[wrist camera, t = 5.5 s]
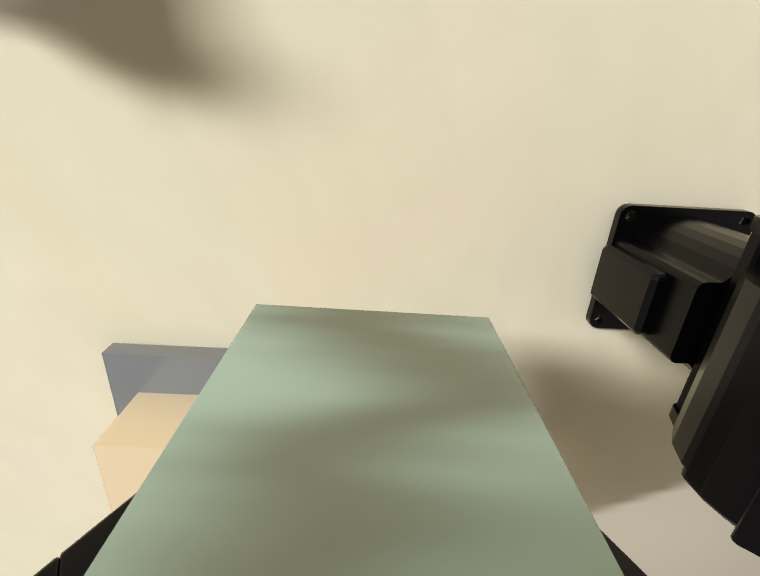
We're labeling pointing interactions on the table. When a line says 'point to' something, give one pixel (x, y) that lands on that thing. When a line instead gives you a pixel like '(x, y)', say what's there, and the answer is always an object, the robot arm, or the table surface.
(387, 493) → the sage block
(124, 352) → the build plate
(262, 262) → the table surface
